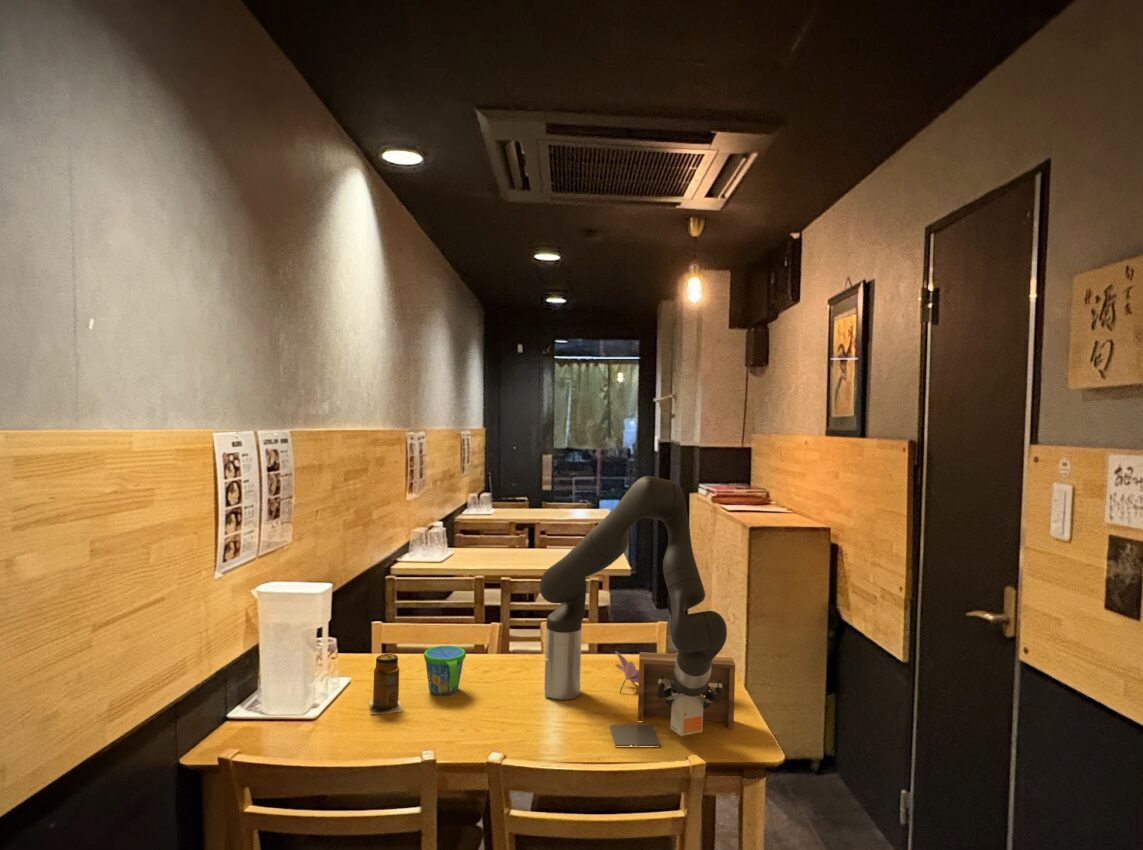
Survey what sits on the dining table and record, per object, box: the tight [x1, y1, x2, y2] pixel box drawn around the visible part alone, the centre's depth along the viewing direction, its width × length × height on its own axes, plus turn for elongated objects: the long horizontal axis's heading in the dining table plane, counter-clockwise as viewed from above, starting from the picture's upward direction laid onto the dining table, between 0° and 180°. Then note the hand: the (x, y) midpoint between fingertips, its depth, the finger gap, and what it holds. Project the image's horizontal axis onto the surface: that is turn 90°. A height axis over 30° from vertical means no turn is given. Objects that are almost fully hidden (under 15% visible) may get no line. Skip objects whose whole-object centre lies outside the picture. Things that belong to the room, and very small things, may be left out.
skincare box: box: [670, 695, 704, 737], centre depth 151 cm, size 6×4×12 cm
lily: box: [614, 651, 639, 694], centre depth 180 cm, size 12×12×10 cm
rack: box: [637, 651, 736, 730], centre depth 162 cm, size 5×22×15 cm, turn 84°
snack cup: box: [423, 645, 466, 696], centre depth 176 cm, size 16×11×10 cm
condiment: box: [368, 653, 403, 715], centre depth 165 cm, size 7×8×12 cm
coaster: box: [609, 723, 661, 747], centre depth 152 cm, size 10×10×1 cm
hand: (687, 703), depth 153 cm, fingers closed on skincare box, 7 cm apart
